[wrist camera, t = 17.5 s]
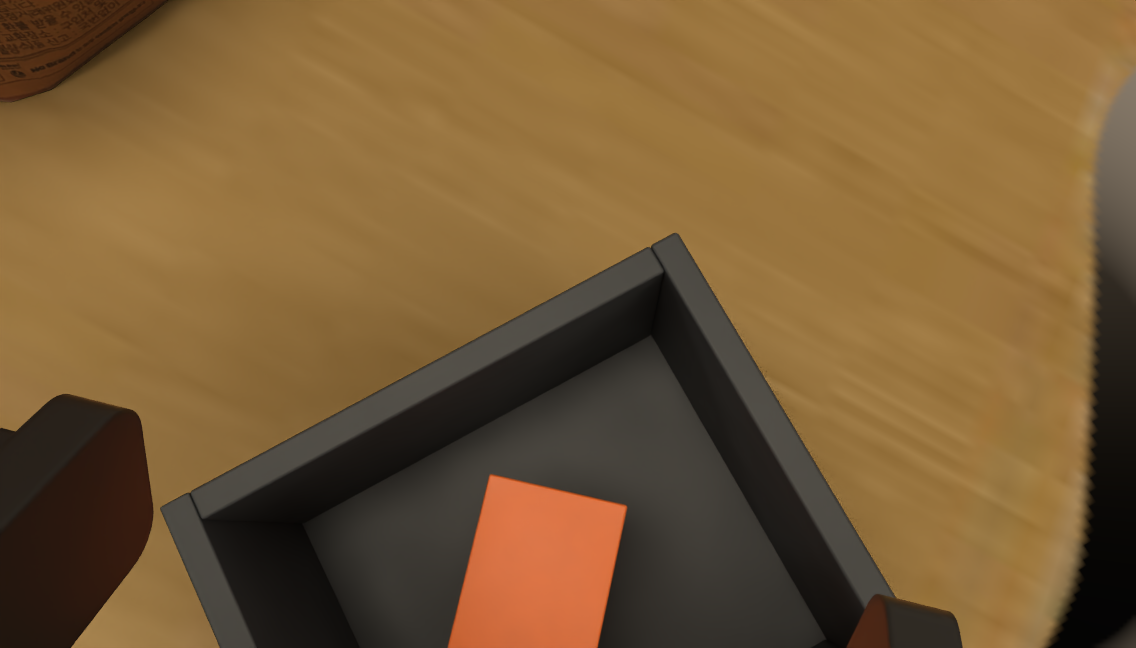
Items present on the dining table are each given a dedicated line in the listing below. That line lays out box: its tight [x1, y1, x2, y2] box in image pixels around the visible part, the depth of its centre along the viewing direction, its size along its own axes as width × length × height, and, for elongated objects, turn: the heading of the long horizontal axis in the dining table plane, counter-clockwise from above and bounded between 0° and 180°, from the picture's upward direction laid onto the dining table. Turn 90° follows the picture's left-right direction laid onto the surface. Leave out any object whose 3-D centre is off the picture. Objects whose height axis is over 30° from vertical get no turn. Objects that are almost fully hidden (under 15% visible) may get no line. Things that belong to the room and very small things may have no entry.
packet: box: [448, 474, 627, 648], centre depth 25 cm, size 5×3×11 cm, turn 167°
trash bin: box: [160, 233, 896, 648], centre depth 27 cm, size 15×13×9 cm
